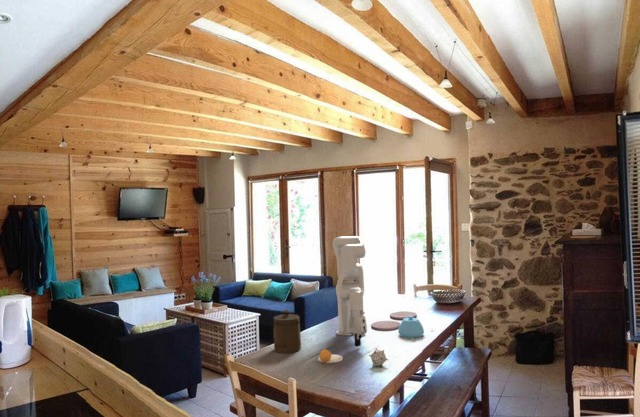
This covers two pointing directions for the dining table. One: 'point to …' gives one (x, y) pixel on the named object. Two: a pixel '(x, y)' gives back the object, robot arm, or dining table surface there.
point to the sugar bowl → (411, 328)
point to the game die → (378, 357)
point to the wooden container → (287, 333)
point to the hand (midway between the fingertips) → (357, 345)
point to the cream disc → (333, 358)
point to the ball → (325, 355)
